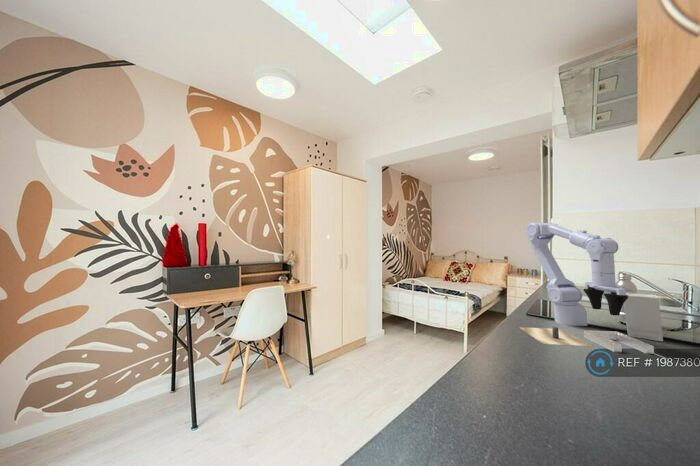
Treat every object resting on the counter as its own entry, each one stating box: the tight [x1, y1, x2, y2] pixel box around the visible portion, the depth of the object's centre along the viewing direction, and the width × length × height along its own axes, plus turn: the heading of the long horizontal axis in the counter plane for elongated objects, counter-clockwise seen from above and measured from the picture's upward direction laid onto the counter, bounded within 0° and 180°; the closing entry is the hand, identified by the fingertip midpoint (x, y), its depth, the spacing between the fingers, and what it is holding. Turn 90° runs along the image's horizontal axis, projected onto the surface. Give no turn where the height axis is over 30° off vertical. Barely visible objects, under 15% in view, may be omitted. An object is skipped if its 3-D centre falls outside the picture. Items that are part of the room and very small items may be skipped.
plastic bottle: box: [615, 273, 638, 322], centre depth 102 cm, size 6×7×20 cm
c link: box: [583, 329, 655, 355], centre depth 80 cm, size 10×12×3 cm
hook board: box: [519, 326, 593, 347], centre depth 88 cm, size 14×16×5 cm
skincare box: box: [624, 293, 664, 342], centre depth 89 cm, size 8×6×15 cm
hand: (605, 312), depth 87 cm, fingers open, 7 cm apart
